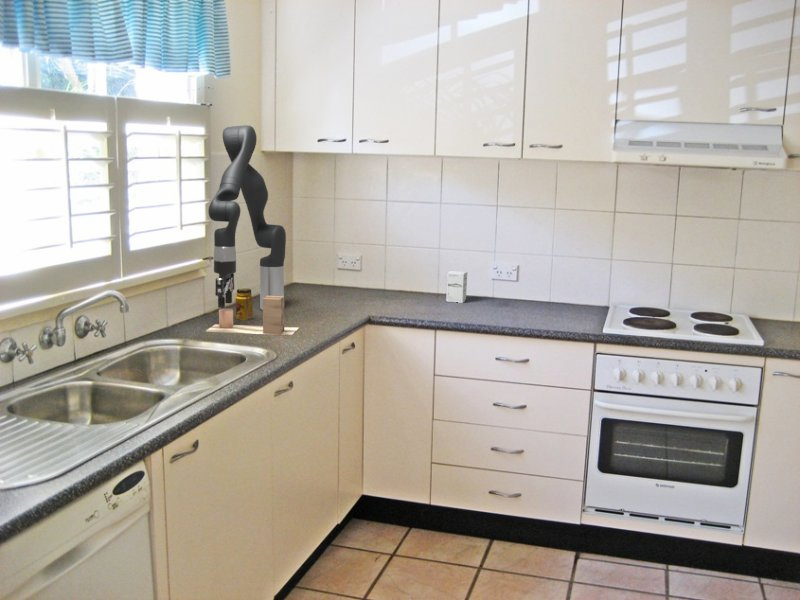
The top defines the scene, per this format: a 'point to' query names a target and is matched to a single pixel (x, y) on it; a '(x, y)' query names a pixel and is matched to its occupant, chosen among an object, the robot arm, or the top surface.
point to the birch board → (248, 329)
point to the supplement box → (456, 286)
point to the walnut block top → (273, 306)
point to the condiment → (244, 305)
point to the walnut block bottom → (273, 325)
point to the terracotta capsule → (225, 318)
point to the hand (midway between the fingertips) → (225, 305)
